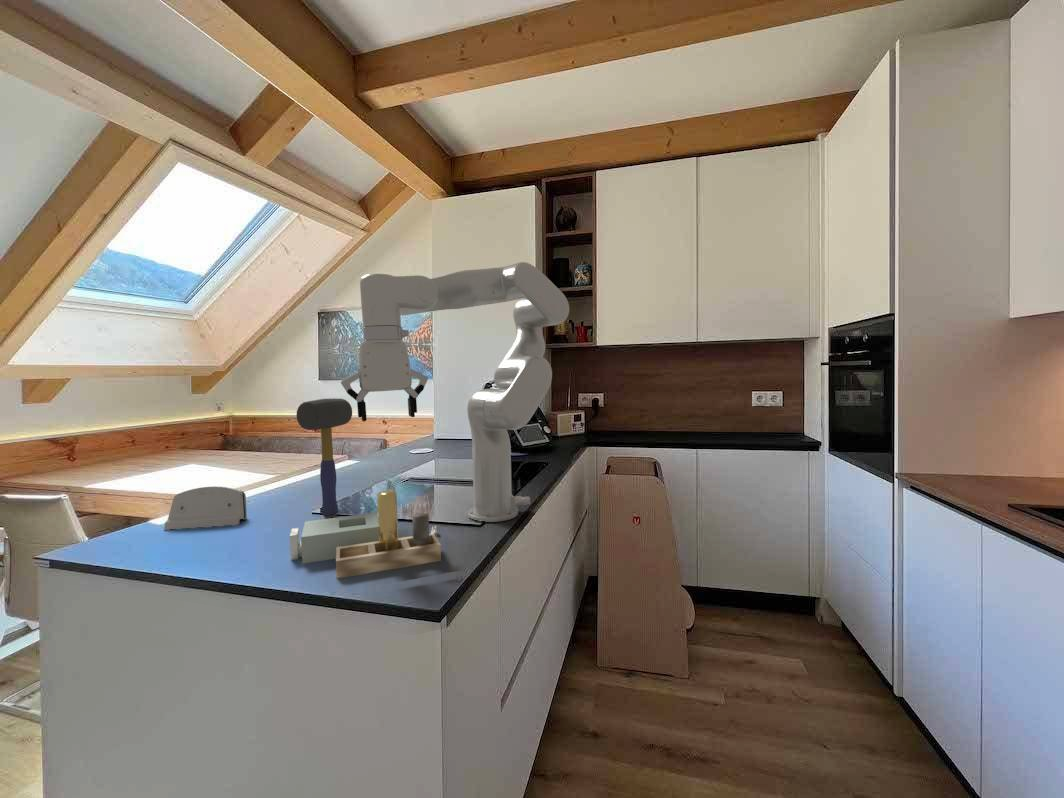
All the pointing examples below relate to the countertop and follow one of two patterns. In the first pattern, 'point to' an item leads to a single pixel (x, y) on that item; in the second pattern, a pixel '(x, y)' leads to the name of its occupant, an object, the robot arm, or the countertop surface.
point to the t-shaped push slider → (295, 544)
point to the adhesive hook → (434, 530)
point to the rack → (390, 552)
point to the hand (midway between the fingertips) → (388, 418)
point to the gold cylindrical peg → (387, 520)
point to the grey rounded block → (207, 508)
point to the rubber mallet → (325, 441)
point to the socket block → (336, 535)
